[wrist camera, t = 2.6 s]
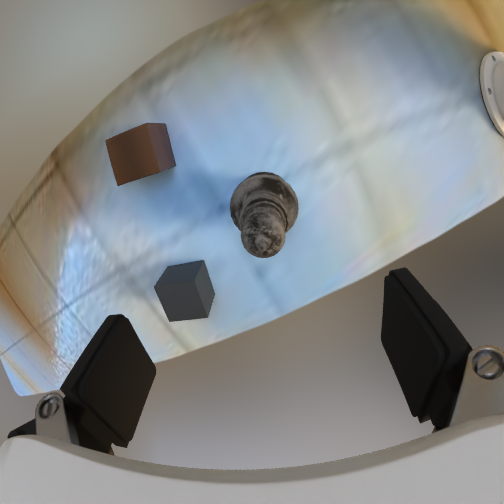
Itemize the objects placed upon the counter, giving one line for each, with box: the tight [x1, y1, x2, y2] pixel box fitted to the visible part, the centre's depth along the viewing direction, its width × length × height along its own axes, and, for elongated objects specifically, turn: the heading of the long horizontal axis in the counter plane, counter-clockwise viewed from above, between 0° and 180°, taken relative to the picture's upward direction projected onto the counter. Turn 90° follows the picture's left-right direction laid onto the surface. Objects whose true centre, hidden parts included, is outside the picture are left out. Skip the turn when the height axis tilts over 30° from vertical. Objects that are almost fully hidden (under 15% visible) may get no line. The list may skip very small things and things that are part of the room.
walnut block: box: [106, 123, 176, 186], centre depth 23 cm, size 4×4×4 cm
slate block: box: [154, 260, 215, 322], centre depth 29 cm, size 4×4×4 cm
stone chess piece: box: [230, 172, 298, 258], centre depth 21 cm, size 6×6×12 cm
